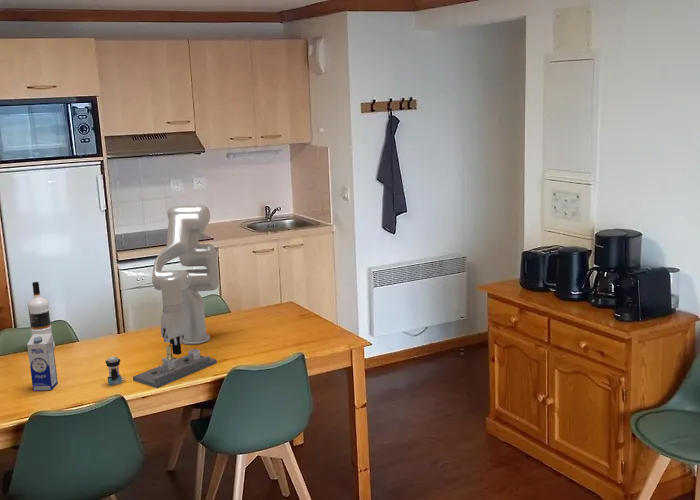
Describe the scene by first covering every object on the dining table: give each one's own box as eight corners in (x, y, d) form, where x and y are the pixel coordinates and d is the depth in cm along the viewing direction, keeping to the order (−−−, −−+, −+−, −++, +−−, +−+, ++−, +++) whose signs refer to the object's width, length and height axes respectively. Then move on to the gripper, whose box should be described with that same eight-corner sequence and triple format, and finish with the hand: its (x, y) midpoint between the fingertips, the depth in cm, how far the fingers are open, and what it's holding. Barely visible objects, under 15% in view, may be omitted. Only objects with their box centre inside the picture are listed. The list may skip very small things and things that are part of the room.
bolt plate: (133, 380, 284) (131, 364, 283) (192, 356, 307) (191, 341, 306) (157, 388, 276) (155, 371, 274) (216, 363, 299) (215, 347, 298)
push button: (124, 379, 286) (122, 354, 283) (127, 383, 281) (125, 358, 279) (106, 382, 283) (103, 357, 280) (109, 387, 278) (106, 361, 276)
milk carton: (58, 383, 284) (52, 332, 279) (52, 390, 277) (45, 338, 273) (39, 384, 283) (33, 333, 279) (32, 391, 277) (26, 339, 273)
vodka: (55, 351, 320) (46, 283, 313) (31, 354, 317) (22, 285, 310) (55, 344, 328) (47, 278, 322) (32, 347, 325) (24, 280, 319)
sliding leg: (156, 370, 288) (153, 344, 286) (162, 367, 291) (160, 341, 289) (172, 375, 283) (169, 348, 281) (178, 372, 286) (176, 345, 283)
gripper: (181, 301, 292) (185, 346, 295) (151, 311, 280) (155, 357, 284) (194, 304, 287) (198, 349, 291) (164, 314, 275) (168, 361, 279)
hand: (177, 353), depth 287 cm, fingers closed
